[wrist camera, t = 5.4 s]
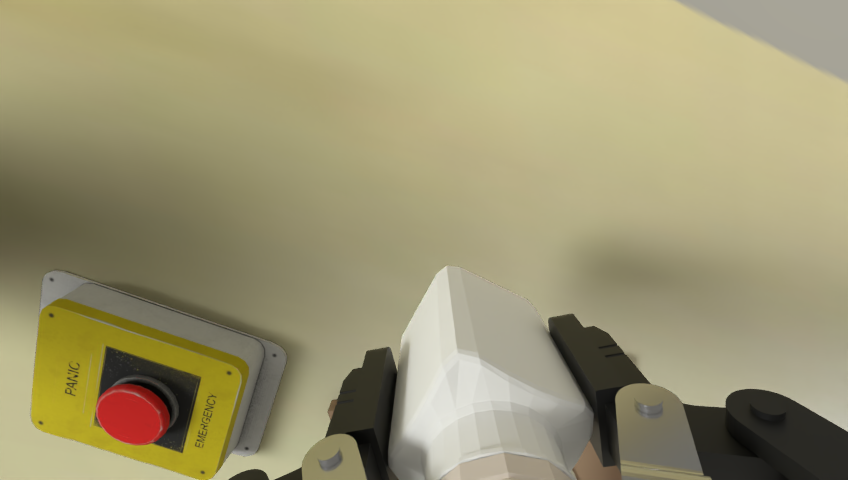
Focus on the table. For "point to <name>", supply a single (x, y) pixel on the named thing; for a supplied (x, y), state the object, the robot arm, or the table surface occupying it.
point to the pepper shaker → (483, 389)
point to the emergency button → (148, 378)
